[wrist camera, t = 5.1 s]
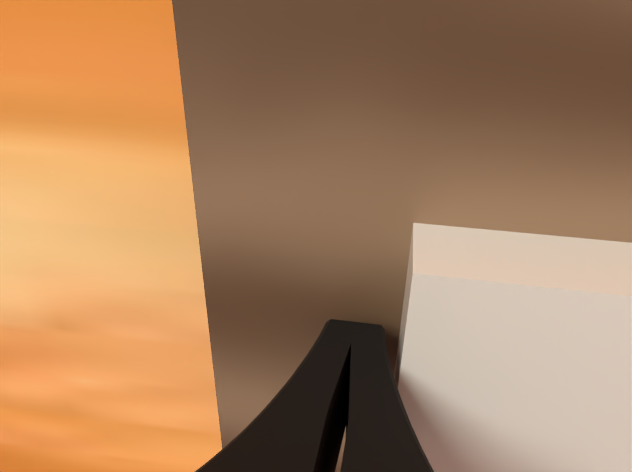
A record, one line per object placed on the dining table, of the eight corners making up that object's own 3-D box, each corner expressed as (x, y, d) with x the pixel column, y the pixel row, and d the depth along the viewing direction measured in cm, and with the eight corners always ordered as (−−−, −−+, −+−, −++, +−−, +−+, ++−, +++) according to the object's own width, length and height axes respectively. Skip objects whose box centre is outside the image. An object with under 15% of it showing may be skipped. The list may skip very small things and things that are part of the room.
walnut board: (516, 471, 19) (532, 556, 16) (252, 430, 20) (228, 502, 17) (679, -13, 11) (763, 0, 8) (222, -26, 12) (169, -19, 9)
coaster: (649, 477, 14) (683, 554, 12) (386, 437, 15) (382, 503, 13) (770, 255, 10) (842, 318, 8) (413, 222, 11) (412, 273, 9)
